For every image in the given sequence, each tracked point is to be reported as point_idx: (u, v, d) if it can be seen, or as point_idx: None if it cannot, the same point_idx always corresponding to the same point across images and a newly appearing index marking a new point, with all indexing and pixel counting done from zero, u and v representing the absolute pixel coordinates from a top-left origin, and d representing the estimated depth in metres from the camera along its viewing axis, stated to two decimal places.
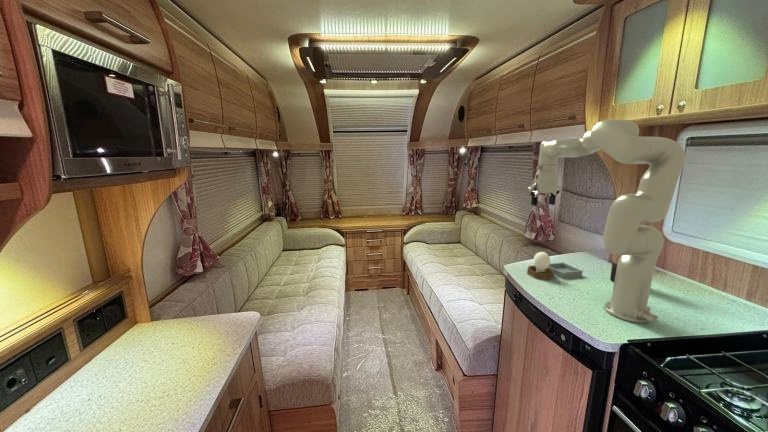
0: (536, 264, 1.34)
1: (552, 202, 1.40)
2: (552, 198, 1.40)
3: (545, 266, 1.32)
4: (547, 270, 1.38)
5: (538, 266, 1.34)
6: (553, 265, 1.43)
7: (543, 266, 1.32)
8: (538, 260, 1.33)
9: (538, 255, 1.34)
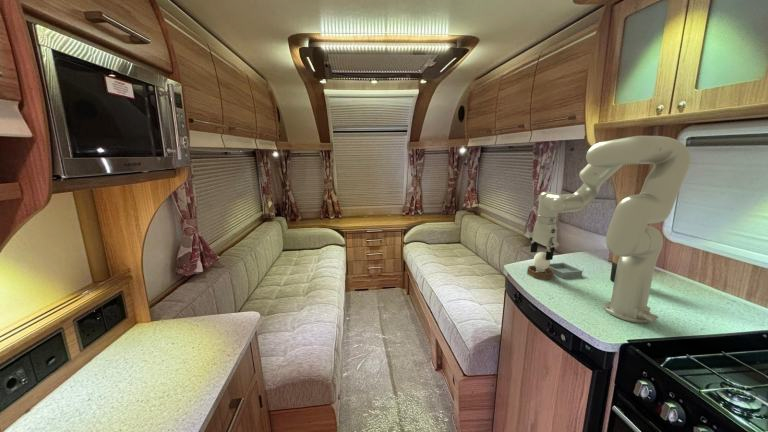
0: (536, 264, 1.34)
1: (536, 250, 1.39)
2: (536, 246, 1.39)
3: (545, 266, 1.32)
4: (547, 270, 1.38)
5: (538, 266, 1.34)
6: (553, 265, 1.43)
7: (543, 266, 1.32)
8: (538, 260, 1.33)
9: (538, 255, 1.34)
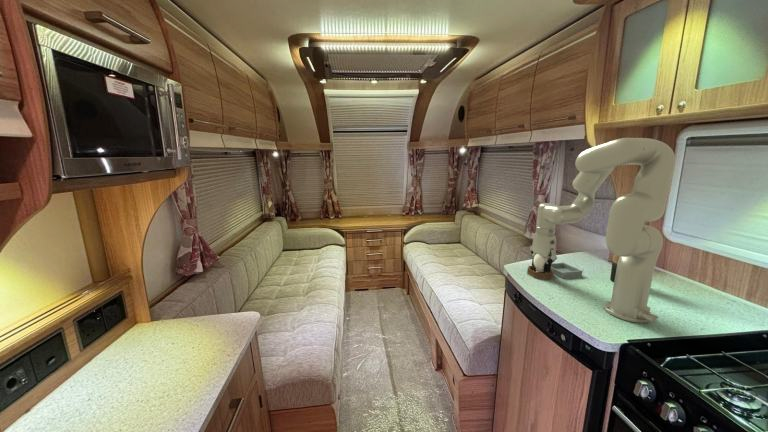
0: (536, 263, 1.34)
1: None
2: None
3: None
4: None
5: (538, 266, 1.34)
6: (553, 265, 1.43)
7: (543, 266, 1.32)
8: (538, 260, 1.33)
9: (538, 255, 1.34)
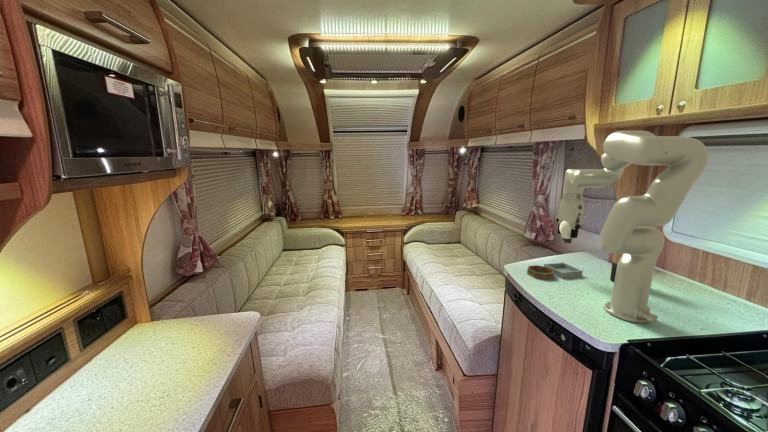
0: (562, 230, 1.34)
1: None
2: None
3: None
4: (547, 270, 1.38)
5: (564, 232, 1.33)
6: (553, 265, 1.43)
7: (570, 232, 1.32)
8: (565, 226, 1.32)
9: (565, 222, 1.33)
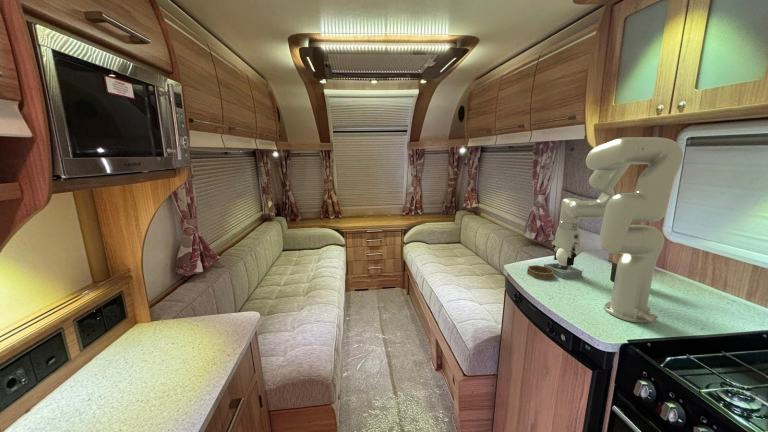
0: (559, 258, 1.36)
1: None
2: None
3: None
4: (547, 270, 1.38)
5: (561, 260, 1.36)
6: (553, 265, 1.43)
7: (566, 260, 1.35)
8: (561, 254, 1.35)
9: (561, 249, 1.36)
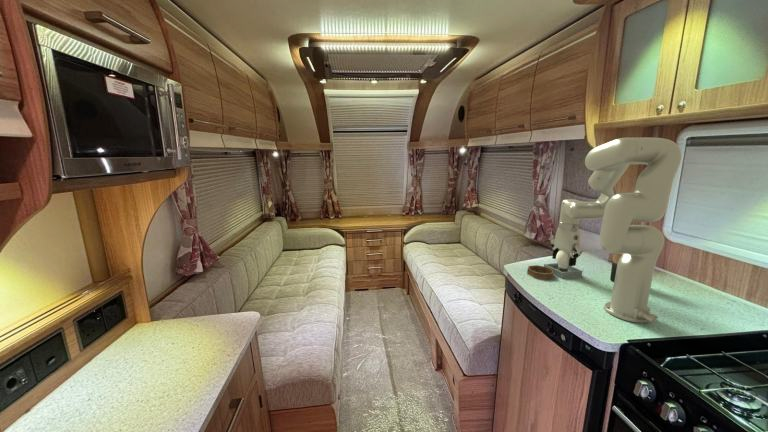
0: (559, 260, 1.36)
1: None
2: (557, 252, 1.42)
3: (568, 263, 1.35)
4: (547, 270, 1.38)
5: (561, 262, 1.36)
6: (553, 265, 1.43)
7: (566, 263, 1.35)
8: (561, 257, 1.35)
9: (561, 252, 1.36)
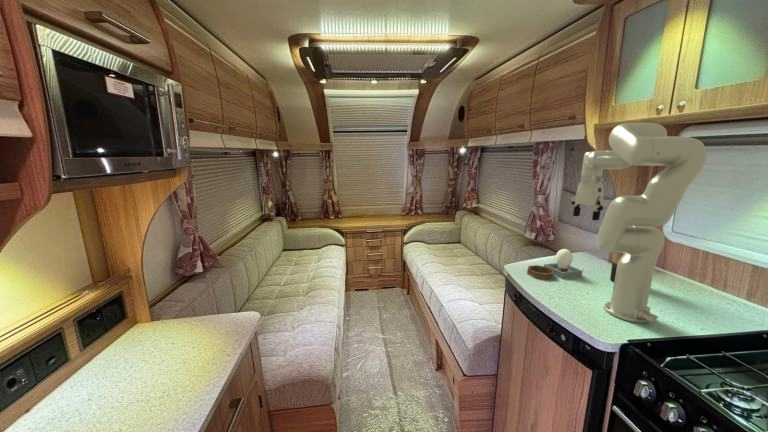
0: (558, 260, 1.36)
1: (578, 213, 1.38)
2: (578, 209, 1.38)
3: (568, 263, 1.35)
4: (547, 270, 1.38)
5: (560, 262, 1.36)
6: (553, 265, 1.43)
7: (566, 263, 1.35)
8: (561, 257, 1.35)
9: (561, 252, 1.36)
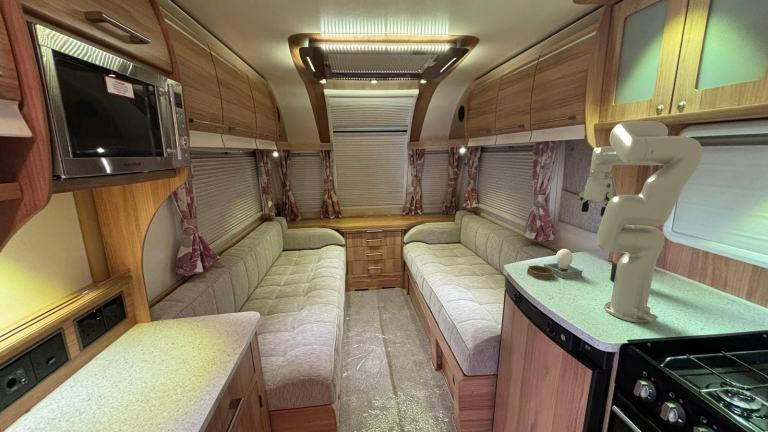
0: (558, 260, 1.36)
1: (587, 209, 1.38)
2: (587, 205, 1.37)
3: (568, 263, 1.35)
4: (547, 270, 1.38)
5: (561, 262, 1.36)
6: (553, 265, 1.43)
7: (566, 263, 1.35)
8: (561, 257, 1.35)
9: (561, 252, 1.36)
